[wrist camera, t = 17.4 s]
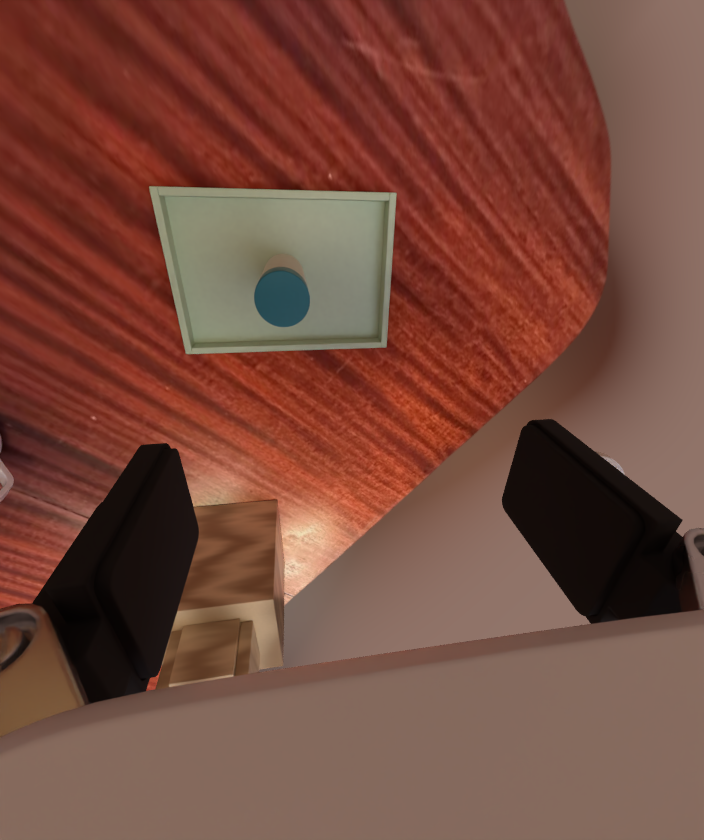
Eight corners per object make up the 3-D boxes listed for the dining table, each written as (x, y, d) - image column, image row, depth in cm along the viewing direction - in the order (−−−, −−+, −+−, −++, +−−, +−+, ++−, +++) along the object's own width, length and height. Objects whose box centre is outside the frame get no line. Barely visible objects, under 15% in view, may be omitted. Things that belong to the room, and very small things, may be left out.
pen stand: (277, 499, 46) (271, 654, 30) (284, 562, 52) (282, 720, 36) (178, 508, 45) (115, 677, 28) (197, 572, 51) (154, 742, 34)
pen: (303, 253, 32) (309, 270, 23) (305, 295, 34) (311, 327, 25) (261, 253, 32) (250, 270, 22) (266, 295, 34) (257, 328, 24)
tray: (390, 193, 31) (396, 192, 30) (382, 341, 38) (386, 347, 36) (156, 187, 29) (148, 185, 27) (190, 347, 35) (185, 354, 34)
